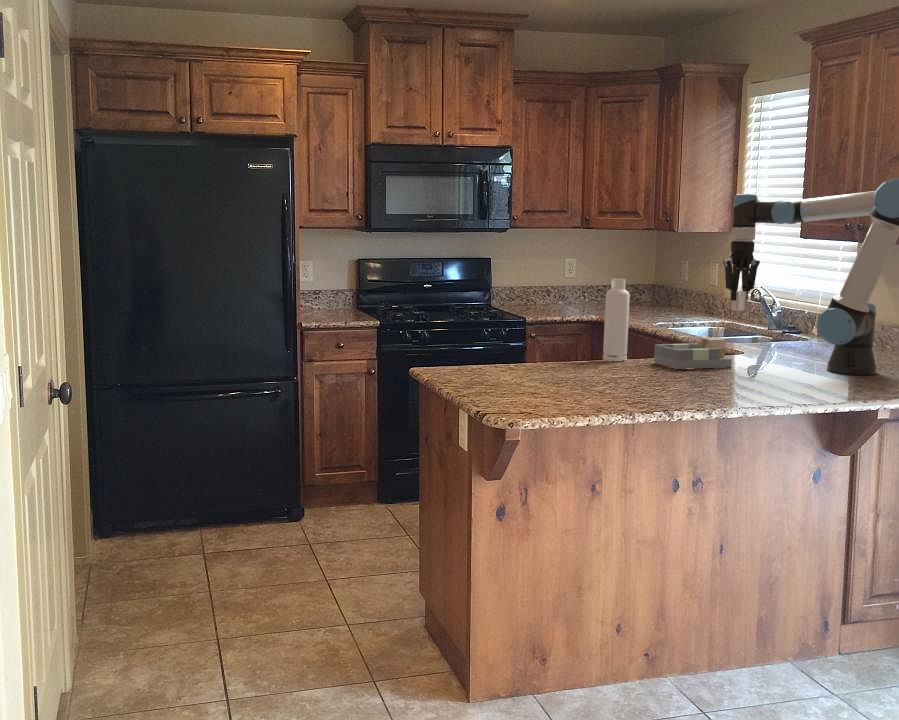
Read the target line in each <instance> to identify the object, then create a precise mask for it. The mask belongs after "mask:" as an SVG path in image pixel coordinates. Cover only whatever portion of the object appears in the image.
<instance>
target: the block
mask: <svg viewBox="0 0 899 720" xmlns="http://www.w3.org/2000/svg"><path fill="white" fill-rule="evenodd" d="M726 341H727V340H726V338H725V339H724V338H720V337H712V336H711V337H710V336H709V337H700V338H699V349H703V348H718V349H719V357H725V356H726V355H725V354H726V353H725V352H726Z"/></svg>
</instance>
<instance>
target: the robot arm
mask: <svg viewBox="0 0 899 720" xmlns="http://www.w3.org/2000/svg"><path fill="white" fill-rule="evenodd" d="M732 209H733V210H732V227H731V228H732V229H731V240H732V241H731V242H730V252H731V255H730V257H729V258H727V259H724V260H723V261H722V264H723V266H724V277H725V288H726V289H727V290H729V291H730V301H731V311H735V312H737V311H744V312H745V311H746V308H747V307H746V306H747V301H748V300H749V292H751V290H754V288H755V284H756V278H757V272H758V267H759V265H760V263H761V261H760V260H757V259H755V256H754V254H753V253H754V251H755V242H754V241H753V240H756V227H757V226H756V225H757V224H776V225H784V224H787V225H793V224H797V223H799V224H800V223H807V222H815V221H826V220H827V221H828V220H837V219H848V218H857V217H858V218H859V217H867V216H869V217H870V219H871V225H870V227H869V230H868V231H867V233H866V236H865V238H864V239H863V242H862V245H861V247H860V249H859V251H858V253H857V254H856V255H857V256H856V257H855V259H854V262H853V263H852V267H851V268H850V271H849V273H848V275H847V277H846V280H845V282H844V284H843V286H842V288H841V290H840V292H839V293H838V294H836V295H834V296H833V297H832V298H831V300H830V303H829V305H828V307H827V309H825V310H823V312H821V314H820V315H819V317H818V319H817V322H816V323H817V324H816V328H817V331H818V335H819V336H820V337H821V339H822V340H823V341H825V342H826V343H827V344H831V345H834V347H833V349H832V352H831V354H830V358H829V361H828V362H827V365H826V370H827V371H828V372H831V373H835V374H844V375H850V376H852V375H854V376H855V375H856V376H871V375H876V374H877V369H878V368H877V364H876V359H875V355H874V351H873V347H874V336H875V335H874V334H875V324H876V316H877V311H876V310H877V309H876V305H875V304H873V303H869V300H870V298H871V297H872V294H873V292H874V290H875V287H876V286H877V284H878V281H879V279H880V277H881V275H882V274H883V271H884V268H885V267H886V264H887V262H888V260H889V258H890V256H891V254H892V252H893V250H894V247H895V245H896V243H897V241H898V238H899V177H895V178H892V179H891V178H890V179H888V180H886V181H884V182H883V183H881V184H880V185H879V186H878V187H877V189H876V190H874V191H865V192H856V193H854V192H853V193H847V194H839V195H830V196H829V195H828V196H822V197H813V198H805V199H795V200H785V199H779V200H773V199H771V200H770V199H769V200H766V199H765V200H761V199H758V194H755V193H736V195H735V196H734V200H733V206H732ZM740 276H741V290H739V291H738V288H739V283H740Z"/></svg>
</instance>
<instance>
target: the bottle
mask: <svg viewBox="0 0 899 720" xmlns="http://www.w3.org/2000/svg"><path fill="white" fill-rule="evenodd" d="M610 283H611V284H610V288H609V289H608V290H607V291H606V293H605V302H604V303H605V307H604V309H605V310H604V326H603V327H604V329H603V346H602V347H603V349H602V350H603V351H602V352H603V353H602V361H605V362H612V361H622V360H627V359H628V357H627V353H628V339H629V337H628V335H629V318H630V317H629V316H630V299H631V297H630V296H631V295H630V292H629V291H628V290H626V278H611V280H610ZM627 361H628V360H627Z"/></svg>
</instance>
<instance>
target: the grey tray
mask: <svg viewBox="0 0 899 720" xmlns="http://www.w3.org/2000/svg"><path fill="white" fill-rule="evenodd" d="M699 348H700V343H696V342H693V343H692V342H691V343H671V344H670V343H663V344H662V343H661V344H660V343H657V344H654V354H653V363H654V362H656V363H659V364H662V365H665V366H668V367H671V368H674V369H673V370H675V369H686V368H714V369H730V368H729V367H731V368H732V358H729V357H719V349H718V348H703V349H699ZM668 367H667V368H668ZM727 367H728V368H727ZM671 368H670V369H671Z"/></svg>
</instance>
